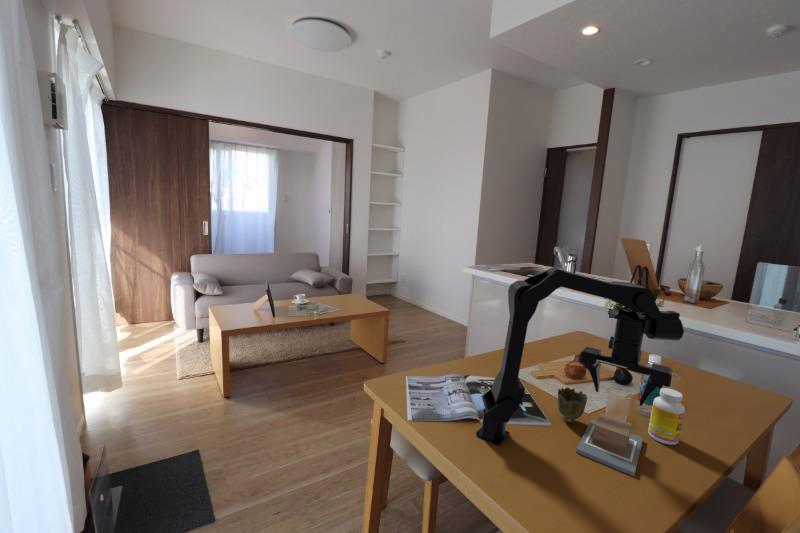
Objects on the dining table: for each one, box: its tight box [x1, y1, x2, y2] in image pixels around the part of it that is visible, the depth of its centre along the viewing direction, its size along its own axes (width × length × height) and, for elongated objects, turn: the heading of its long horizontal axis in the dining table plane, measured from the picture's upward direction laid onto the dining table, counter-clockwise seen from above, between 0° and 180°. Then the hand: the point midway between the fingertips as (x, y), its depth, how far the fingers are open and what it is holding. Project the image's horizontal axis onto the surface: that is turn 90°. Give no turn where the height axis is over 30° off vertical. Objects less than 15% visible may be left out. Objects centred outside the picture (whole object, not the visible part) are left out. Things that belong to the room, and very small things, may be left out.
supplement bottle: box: [647, 387, 686, 446], centre depth 96 cm, size 7×7×13 cm
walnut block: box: [592, 412, 633, 456], centre depth 92 cm, size 7×7×5 cm
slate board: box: [575, 419, 644, 477], centre depth 92 cm, size 17×12×1 cm
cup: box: [557, 387, 588, 424], centre depth 102 cm, size 8×7×8 cm
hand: (618, 398), depth 90 cm, fingers open, 9 cm apart
